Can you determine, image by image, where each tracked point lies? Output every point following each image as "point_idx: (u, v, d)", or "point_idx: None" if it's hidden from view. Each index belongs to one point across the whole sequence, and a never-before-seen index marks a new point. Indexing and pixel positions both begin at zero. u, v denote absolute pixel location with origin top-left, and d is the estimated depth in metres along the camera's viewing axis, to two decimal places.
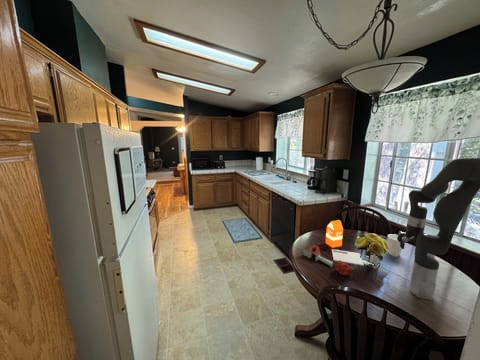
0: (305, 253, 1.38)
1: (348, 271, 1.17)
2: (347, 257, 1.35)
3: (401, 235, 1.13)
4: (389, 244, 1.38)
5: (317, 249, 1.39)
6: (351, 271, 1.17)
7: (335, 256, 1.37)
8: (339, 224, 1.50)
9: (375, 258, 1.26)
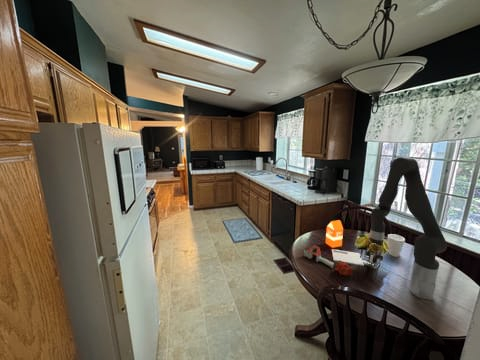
0: (306, 254, 1.37)
1: (348, 271, 1.17)
2: (347, 257, 1.35)
3: None
4: (389, 244, 1.38)
5: (318, 250, 1.39)
6: (351, 271, 1.17)
7: (335, 256, 1.37)
8: (339, 224, 1.50)
9: None
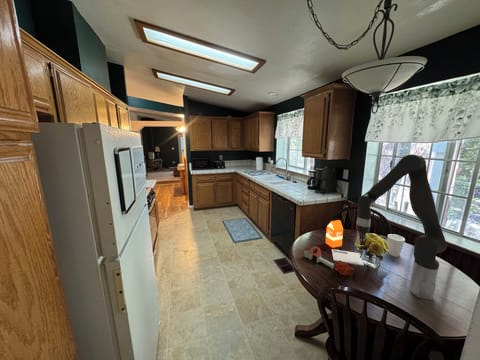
0: (306, 254, 1.36)
1: (348, 271, 1.17)
2: (347, 257, 1.35)
3: (365, 240, 1.24)
4: (389, 244, 1.38)
5: (318, 251, 1.38)
6: (351, 271, 1.17)
7: (335, 256, 1.37)
8: (339, 224, 1.50)
9: None
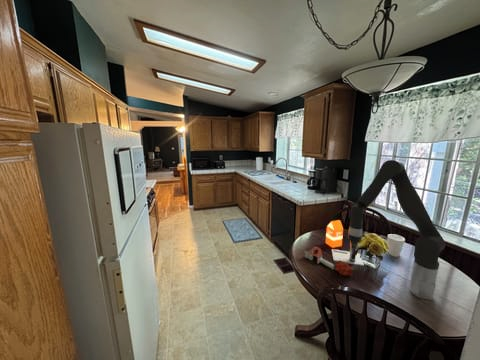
0: (306, 255, 1.36)
1: (348, 271, 1.17)
2: (347, 257, 1.35)
3: (357, 250, 1.24)
4: (389, 244, 1.38)
5: (319, 251, 1.37)
6: (351, 271, 1.17)
7: (335, 256, 1.37)
8: (339, 224, 1.50)
9: None
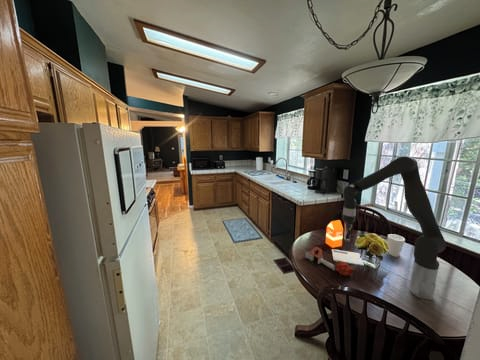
0: (307, 256, 1.35)
1: (348, 271, 1.16)
2: (347, 257, 1.35)
3: (351, 229, 1.28)
4: (389, 244, 1.38)
5: (320, 252, 1.36)
6: (351, 271, 1.17)
7: (335, 256, 1.37)
8: (339, 224, 1.50)
9: None
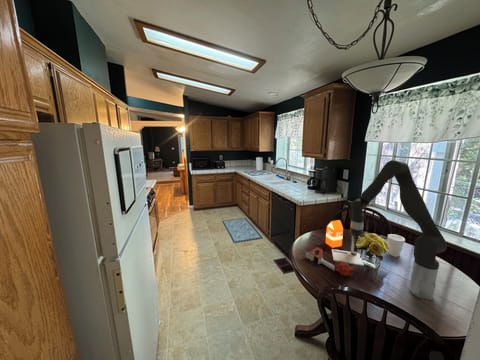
0: (307, 256, 1.35)
1: (349, 271, 1.16)
2: (347, 257, 1.35)
3: None
4: (389, 244, 1.38)
5: (320, 252, 1.36)
6: (352, 271, 1.17)
7: (335, 256, 1.37)
8: (339, 224, 1.50)
9: None
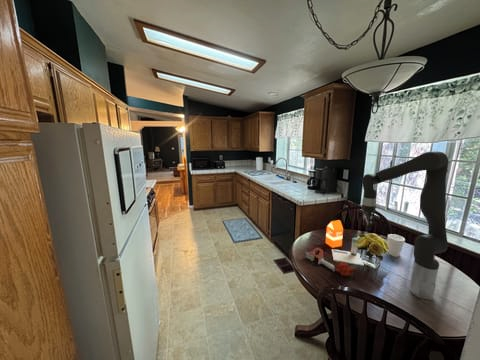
0: (308, 256, 1.35)
1: (349, 271, 1.16)
2: (347, 257, 1.35)
3: None
4: (389, 244, 1.38)
5: (320, 252, 1.36)
6: (352, 271, 1.17)
7: (335, 256, 1.37)
8: (339, 224, 1.50)
9: (355, 248, 1.36)
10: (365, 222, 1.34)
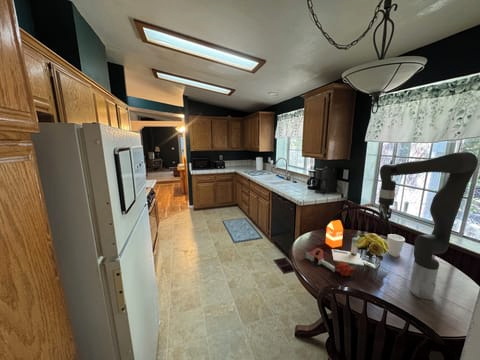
0: (308, 256, 1.35)
1: (350, 271, 1.16)
2: (347, 257, 1.35)
3: None
4: (389, 244, 1.38)
5: (321, 253, 1.35)
6: (352, 271, 1.17)
7: (335, 256, 1.37)
8: (339, 224, 1.50)
9: (355, 248, 1.36)
10: (381, 215, 1.27)
